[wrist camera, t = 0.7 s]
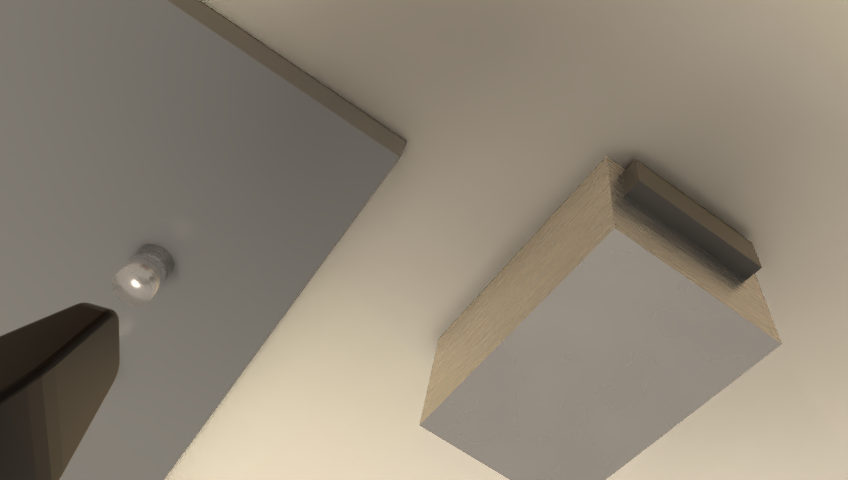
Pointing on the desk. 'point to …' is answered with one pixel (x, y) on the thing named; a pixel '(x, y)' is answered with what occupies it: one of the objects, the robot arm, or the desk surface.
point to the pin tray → (167, 201)
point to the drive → (600, 333)
